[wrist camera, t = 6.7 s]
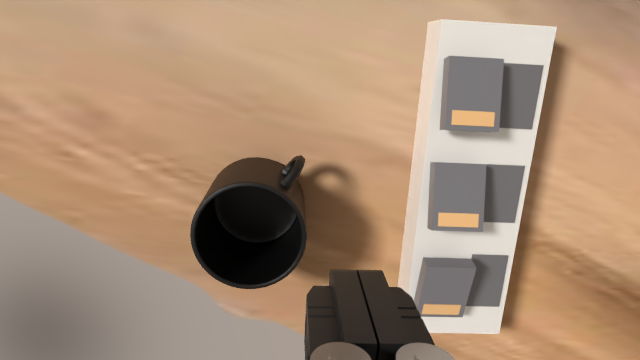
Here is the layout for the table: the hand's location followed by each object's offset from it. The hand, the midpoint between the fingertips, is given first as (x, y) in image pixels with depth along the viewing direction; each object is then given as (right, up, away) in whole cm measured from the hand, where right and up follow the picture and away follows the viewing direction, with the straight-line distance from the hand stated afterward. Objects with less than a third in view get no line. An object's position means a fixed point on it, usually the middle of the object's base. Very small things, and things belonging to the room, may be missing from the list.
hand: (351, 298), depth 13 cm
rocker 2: (+11, +2, +28) cm, 30 cm away
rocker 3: (+11, -7, +30) cm, 33 cm away
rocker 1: (+12, +11, +25) cm, 30 cm away
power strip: (+13, +3, +33) cm, 36 cm away
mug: (-6, +2, +32) cm, 33 cm away
